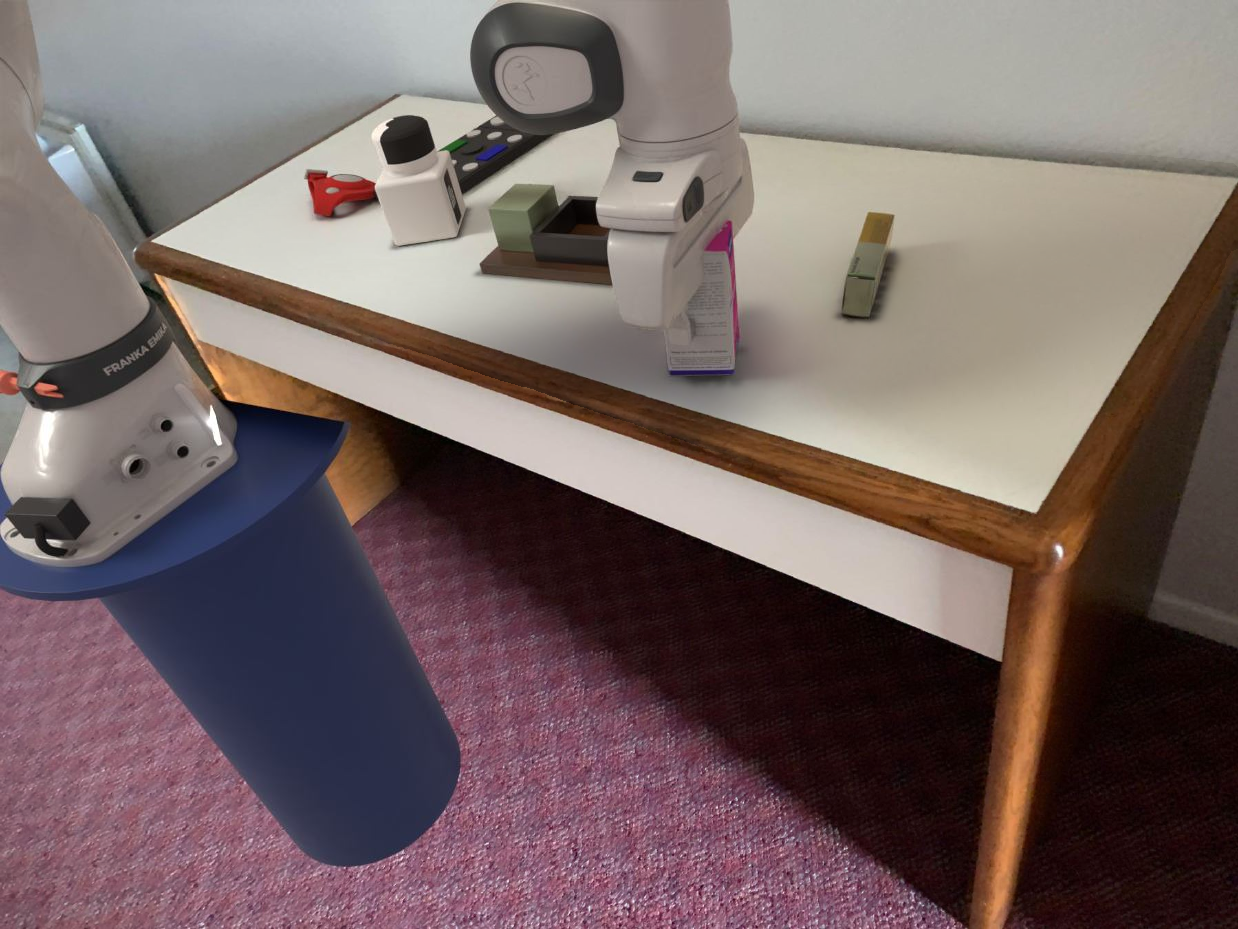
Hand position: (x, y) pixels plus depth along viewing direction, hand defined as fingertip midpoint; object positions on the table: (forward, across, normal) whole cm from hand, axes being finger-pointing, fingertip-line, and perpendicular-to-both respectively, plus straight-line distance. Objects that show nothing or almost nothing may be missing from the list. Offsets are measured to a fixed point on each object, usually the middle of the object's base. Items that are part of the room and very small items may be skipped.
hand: (700, 316), depth 78 cm
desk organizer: (+5, -17, -23) cm, 29 cm away
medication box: (+5, -15, +10) cm, 19 cm away
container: (+5, -20, -44) cm, 49 cm away
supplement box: (+4, 0, 0) cm, 4 cm away
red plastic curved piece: (+6, -26, -63) cm, 68 cm away
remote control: (+5, -40, -49) cm, 63 cm away
